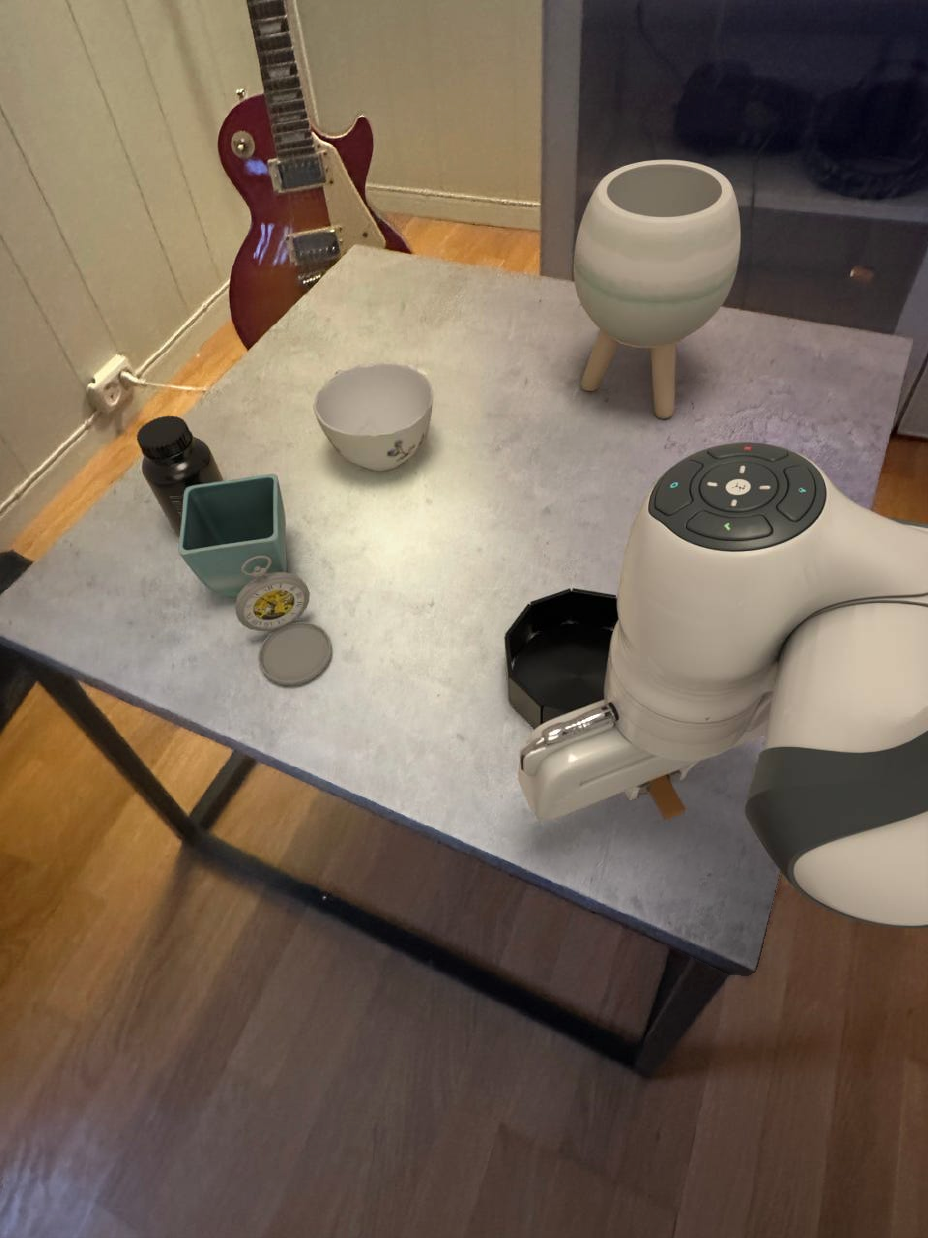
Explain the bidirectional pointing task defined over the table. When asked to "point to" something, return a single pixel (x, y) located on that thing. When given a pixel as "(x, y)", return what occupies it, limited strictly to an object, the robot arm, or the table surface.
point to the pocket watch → (283, 626)
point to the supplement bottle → (174, 463)
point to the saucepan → (568, 664)
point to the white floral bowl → (375, 413)
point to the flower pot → (233, 531)
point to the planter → (655, 262)
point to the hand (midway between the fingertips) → (651, 780)
